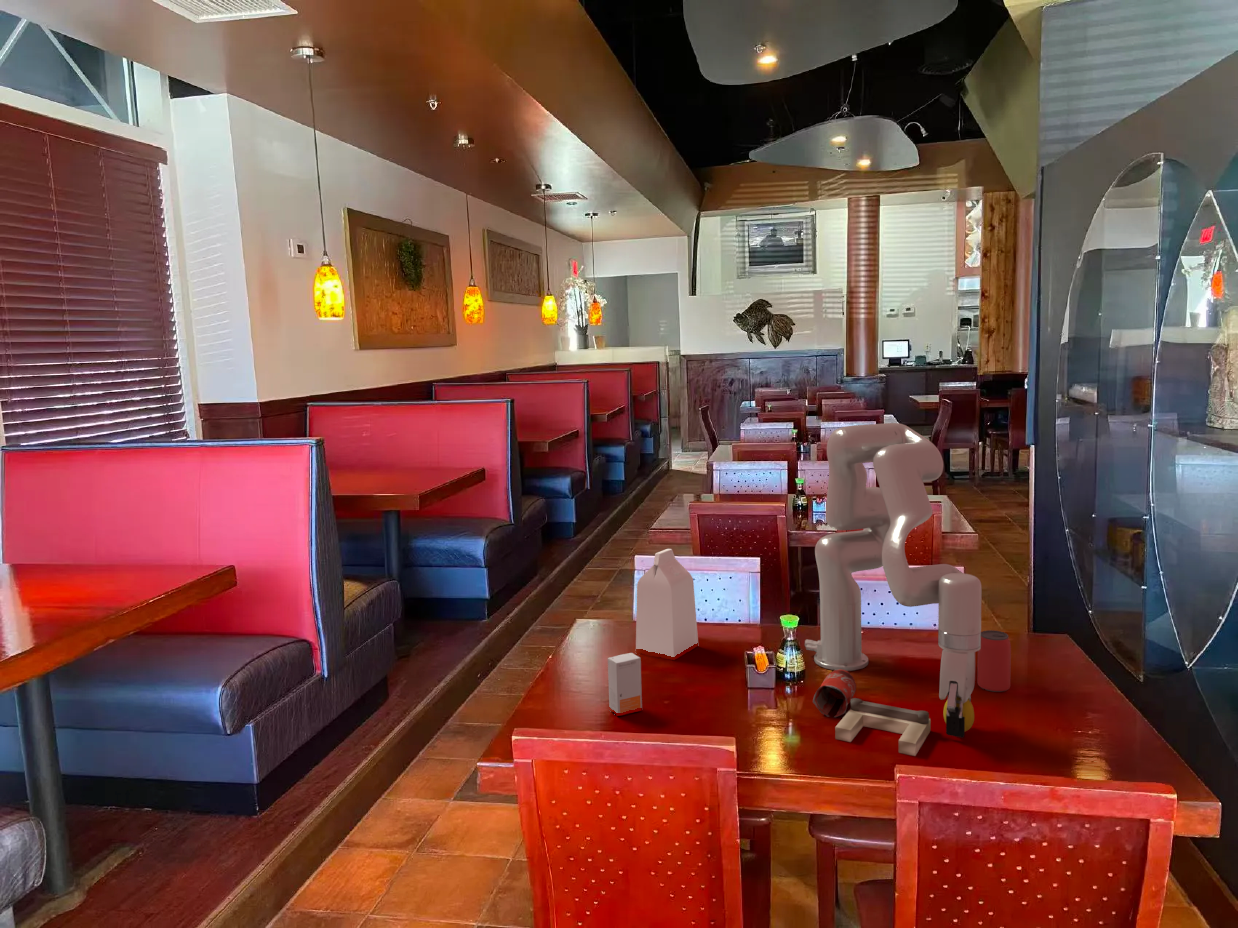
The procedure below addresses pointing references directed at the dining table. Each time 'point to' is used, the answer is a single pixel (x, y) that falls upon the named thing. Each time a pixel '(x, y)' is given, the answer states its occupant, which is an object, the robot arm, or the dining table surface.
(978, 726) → the dining table surface
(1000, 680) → the beer can
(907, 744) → the beige u-shaped frame
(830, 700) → the beverage can
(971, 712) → the lemon
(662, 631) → the milk
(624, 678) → the skincare box
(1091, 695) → the dining table surface
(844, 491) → the robot arm
